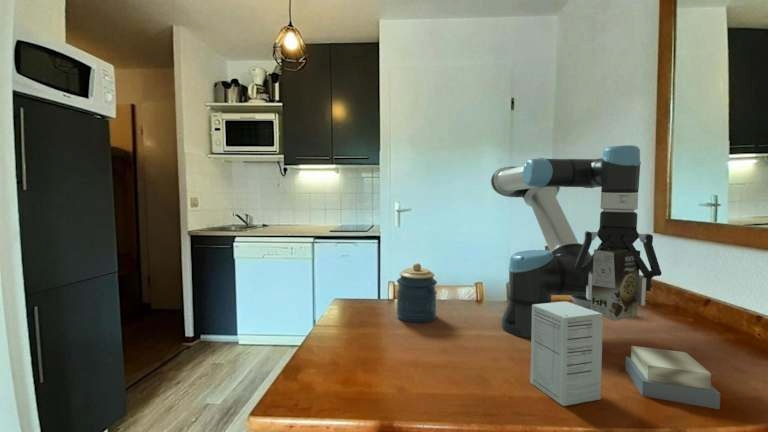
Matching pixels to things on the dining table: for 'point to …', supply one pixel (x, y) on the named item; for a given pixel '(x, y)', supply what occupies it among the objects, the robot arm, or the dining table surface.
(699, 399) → the grey base slab
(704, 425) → the dining table surface
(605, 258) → the coffee box
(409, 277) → the canister
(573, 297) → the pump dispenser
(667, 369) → the birch top slab
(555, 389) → the supplement box
